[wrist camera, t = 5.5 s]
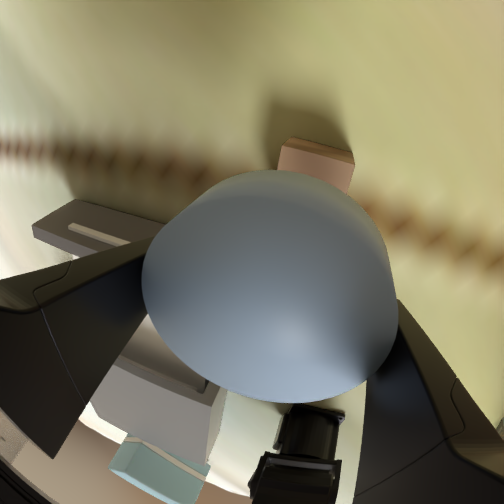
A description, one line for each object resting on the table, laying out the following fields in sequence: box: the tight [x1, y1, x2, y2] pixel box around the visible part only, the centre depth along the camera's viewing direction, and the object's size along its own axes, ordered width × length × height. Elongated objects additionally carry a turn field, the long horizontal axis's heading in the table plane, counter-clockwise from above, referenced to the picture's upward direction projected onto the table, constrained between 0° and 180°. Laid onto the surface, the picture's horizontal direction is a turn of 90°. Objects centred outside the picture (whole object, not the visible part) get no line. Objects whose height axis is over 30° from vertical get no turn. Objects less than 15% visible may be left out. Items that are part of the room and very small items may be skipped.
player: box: [90, 358, 227, 466], centre depth 34 cm, size 18×20×6 cm
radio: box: [108, 433, 211, 504], centre depth 43 cm, size 16×9×20 cm, turn 41°
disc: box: [142, 170, 398, 403], centre depth 8 cm, size 6×6×2 cm
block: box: [277, 137, 355, 194], centre depth 18 cm, size 4×4×4 cm
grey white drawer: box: [32, 199, 209, 394], centre depth 27 cm, size 18×20×6 cm
